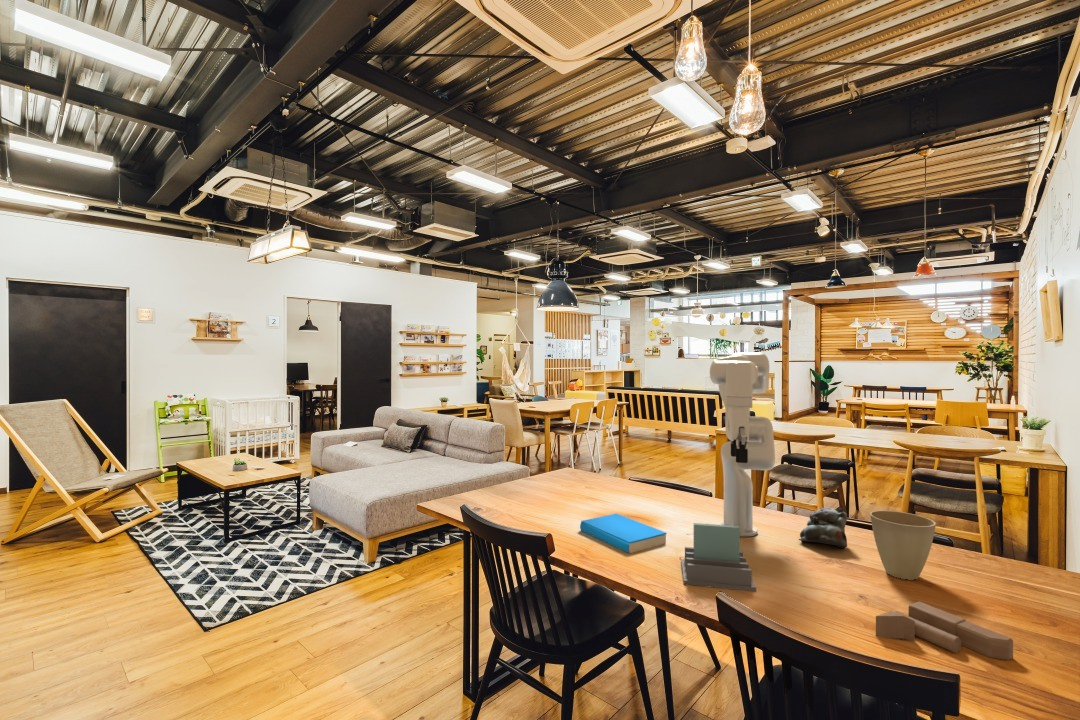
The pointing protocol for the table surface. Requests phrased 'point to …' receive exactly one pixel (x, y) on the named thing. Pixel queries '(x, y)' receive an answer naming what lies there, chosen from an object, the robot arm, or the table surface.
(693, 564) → the dish rack
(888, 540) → the plant pot
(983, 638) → the wooden block set
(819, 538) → the grey lumpy mound
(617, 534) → the book
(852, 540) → the table surface
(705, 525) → the thin teal board
